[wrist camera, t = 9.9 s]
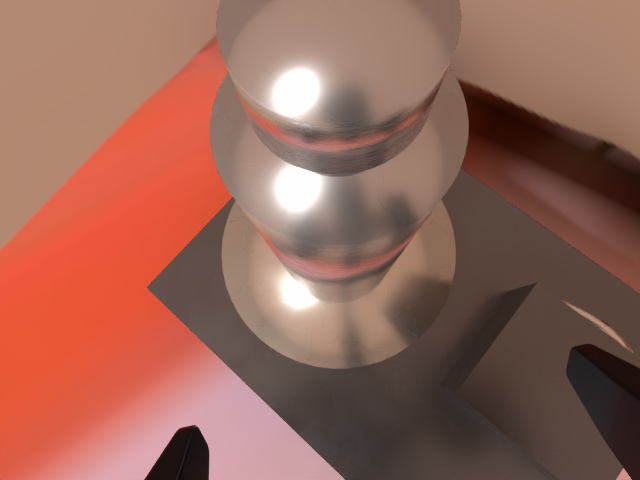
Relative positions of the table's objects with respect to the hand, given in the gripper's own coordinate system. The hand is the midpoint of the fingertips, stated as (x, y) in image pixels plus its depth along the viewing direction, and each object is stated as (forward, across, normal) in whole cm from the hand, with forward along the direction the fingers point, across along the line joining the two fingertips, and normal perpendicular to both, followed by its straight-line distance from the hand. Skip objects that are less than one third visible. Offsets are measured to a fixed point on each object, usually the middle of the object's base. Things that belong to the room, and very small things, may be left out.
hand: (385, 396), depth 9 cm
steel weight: (+10, 0, +2) cm, 10 cm away
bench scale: (+10, -2, +6) cm, 12 cm away
